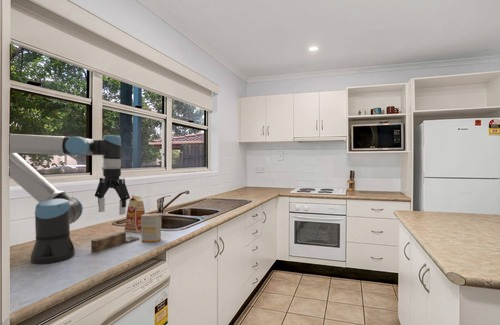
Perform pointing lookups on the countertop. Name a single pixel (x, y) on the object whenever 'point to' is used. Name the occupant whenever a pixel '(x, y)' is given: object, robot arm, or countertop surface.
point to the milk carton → (134, 214)
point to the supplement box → (151, 227)
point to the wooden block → (111, 241)
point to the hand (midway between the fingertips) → (111, 213)
